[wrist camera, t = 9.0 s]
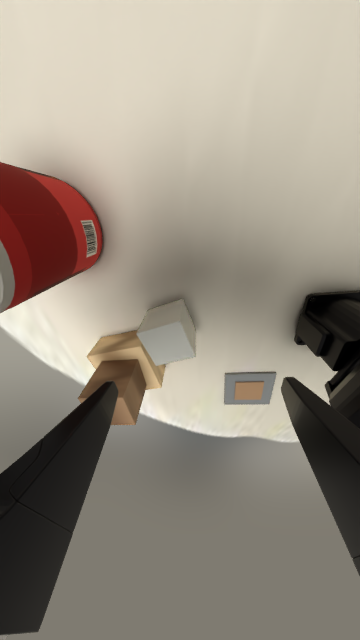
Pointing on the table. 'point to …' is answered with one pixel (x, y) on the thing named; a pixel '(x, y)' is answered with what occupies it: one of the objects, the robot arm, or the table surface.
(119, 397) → the walnut block
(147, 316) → the grey block
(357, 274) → the table surface
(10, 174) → the canned food
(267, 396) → the card
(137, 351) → the oak base
